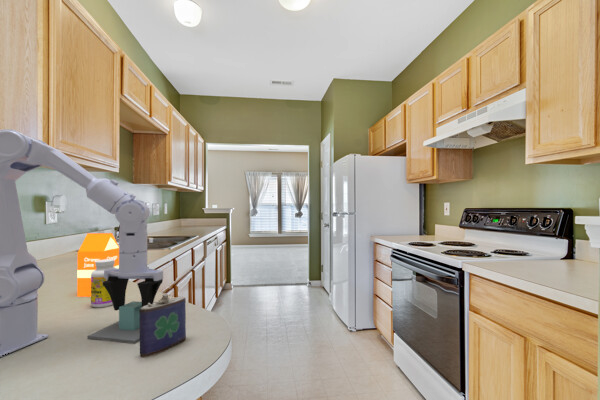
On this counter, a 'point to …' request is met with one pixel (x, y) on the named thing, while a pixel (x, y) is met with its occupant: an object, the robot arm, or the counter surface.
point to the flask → (162, 325)
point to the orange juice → (94, 258)
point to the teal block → (130, 316)
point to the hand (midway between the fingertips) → (133, 310)
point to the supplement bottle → (100, 284)
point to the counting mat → (116, 334)
